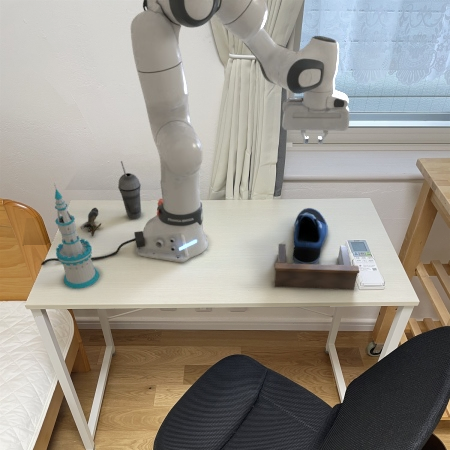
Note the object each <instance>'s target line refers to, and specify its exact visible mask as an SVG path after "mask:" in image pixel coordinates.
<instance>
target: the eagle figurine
mask: <svg viewBox="0 0 450 450" xmlns="http://www.w3.org/2000/svg"><path fill="white" fill-rule="evenodd" d="M98 216H99V209H98V208H97V207H93V208H92V209H91V210H90V211H89V213H88V215H87V221H85V222H84V223H83V224H82V225H81V226H80V230H85V228H87V229H88V231H87V232H88V233H91V237H94V234H95V232H96V230H97V229H98V230H100V229H101V228H100V227H101V225H102V223H101V222H100V223H99V224H98V225H97V224H96V222H95V221H96V219H97V217H98Z"/></svg>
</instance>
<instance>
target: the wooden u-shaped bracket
mask: <svg viewBox="0 0 450 450" xmlns="http://www.w3.org/2000/svg"><path fill="white" fill-rule="evenodd" d="M277 249H278V250H277V262H274V271H275V273H274V288H297V289H300V288H301V289H321V290H322V289H325V290H326V289H327V290H350V291H351V290H352V291H354V290H355V286H356V283H357V279H358V274H360V267H359V265H352V262H351V258H350V253H349V249H348V245H339V251H338V256H337V263H338V264H322V263H321V264H319V263H318V264H294V263H293V262H292V263H287V246H286V243H278V248H277Z"/></svg>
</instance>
